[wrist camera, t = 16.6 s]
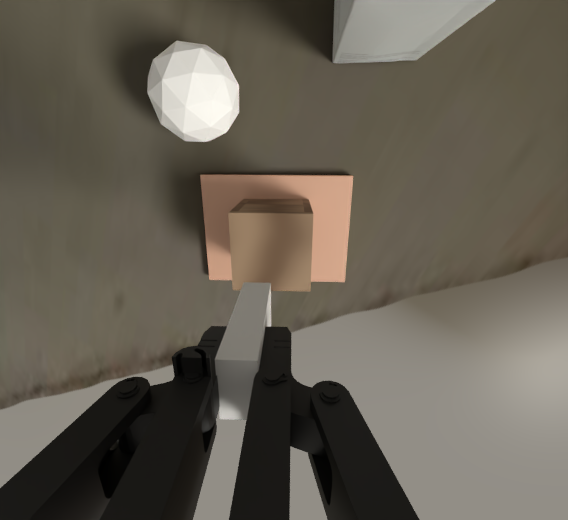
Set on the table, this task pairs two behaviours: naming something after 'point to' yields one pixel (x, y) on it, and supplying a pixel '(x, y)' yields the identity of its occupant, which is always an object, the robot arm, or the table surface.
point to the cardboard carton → (272, 243)
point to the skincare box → (396, 27)
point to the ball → (193, 91)
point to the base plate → (317, 188)
